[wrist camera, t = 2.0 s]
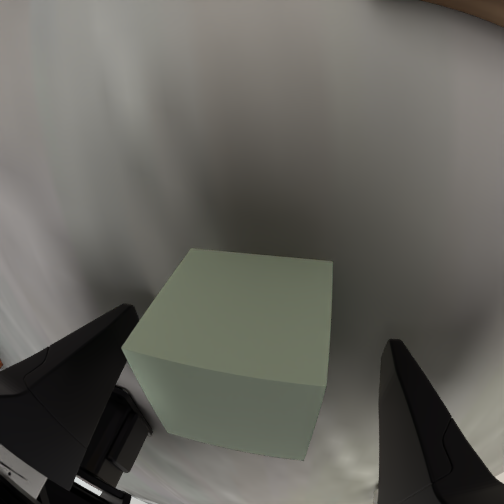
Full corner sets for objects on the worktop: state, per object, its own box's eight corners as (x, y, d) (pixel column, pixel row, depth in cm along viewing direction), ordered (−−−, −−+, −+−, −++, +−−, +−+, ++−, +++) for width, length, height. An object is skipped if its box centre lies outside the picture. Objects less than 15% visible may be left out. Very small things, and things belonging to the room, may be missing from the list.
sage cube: (208, 340, 12) (167, 432, 9) (192, 247, 10) (121, 347, 6) (318, 355, 11) (303, 460, 8) (332, 259, 9) (326, 386, 5)
